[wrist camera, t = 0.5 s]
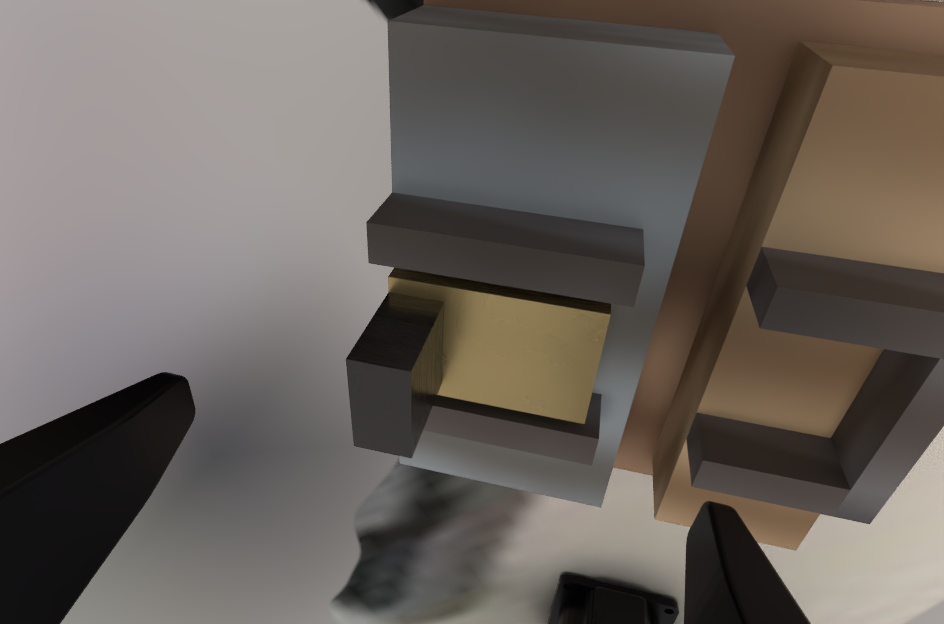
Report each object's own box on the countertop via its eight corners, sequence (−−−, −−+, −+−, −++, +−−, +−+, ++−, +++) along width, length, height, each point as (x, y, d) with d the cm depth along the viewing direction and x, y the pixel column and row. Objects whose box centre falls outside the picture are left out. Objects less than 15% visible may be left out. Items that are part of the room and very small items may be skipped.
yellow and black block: (588, 384, 19) (577, 507, 15) (409, 350, 19) (355, 458, 16) (612, 279, 16) (606, 391, 12) (408, 246, 17) (344, 342, 13)
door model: (787, 476, 25) (829, 626, 20) (430, 404, 27) (383, 520, 22) (1052, 11, 14) (1292, 66, 9) (438, -40, 17) (352, -20, 12)
